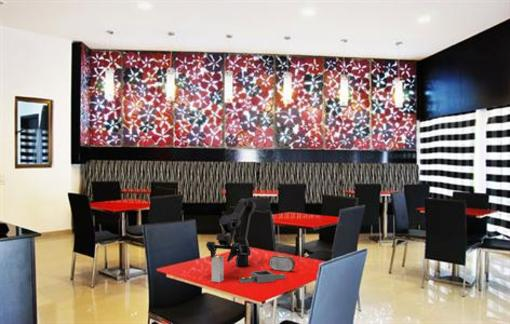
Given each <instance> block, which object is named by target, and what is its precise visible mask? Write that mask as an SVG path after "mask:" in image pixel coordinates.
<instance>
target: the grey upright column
mask: <svg viewBox="0 0 510 324" xmlns="http://www.w3.org/2000/svg"><path fill="white" fill-rule="evenodd" d="M222 281H224V256H223V255H222V256H221V255H217V254H215V256H214V257H212V261H211V282H213V283H221V282H222Z"/></svg>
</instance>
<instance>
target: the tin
mask: <svg viewBox="0 0 510 324" xmlns="http://www.w3.org/2000/svg"><path fill="white" fill-rule="evenodd" d="M268 265H269V267H270V268H271V270H273V271H276V272H277V271H279V272H286V273H289V272H292V271H293V270H294V269H295V268H296V261H295V259H294V258H293V257H291V256H290V255H281V254H274V255H272V256H271V257H270V258H269V260H268Z"/></svg>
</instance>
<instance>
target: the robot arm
mask: <svg viewBox="0 0 510 324" xmlns="http://www.w3.org/2000/svg"><path fill="white" fill-rule="evenodd" d="M256 208H257V204H256V202H255V201H254V200H248V199H239V200H238V204H237V205H236V207H235V209H234V211H233V212H232V213H230V214H229V215H228V214H224V216H222V217H220V218H219V220H218V222H219V225H220V227H221V230H222V231H223V233H219V232H218V233H217V234H216V237H215V238H216V240H217V243H218V244H216V242H215V241H207V242H206V244H205V245H206V248H207V250H208V251H209V252H210V262H212V257H214V256H216V255H217V251H218V250H230V251H229V254H228V257H227V258H226V259H227V260H226V262H227V263H229V262H231V260H232V259H234V258H235V264H234V265H235V266H236V267H238V268H242V267H250V264H249V256H251V254H252V251H251V250H252V249H250V246H249V245H250V244H249V241H248V235H249V228H250V223H251V217H252V215H253V214H254V213H255V209H256ZM239 227H240V229H239V233H238V235H239V236H238V238H236V239H235V240H233V239H234V237H235V235H237V232H236V229H235V228H239ZM217 249H218V250H217Z"/></svg>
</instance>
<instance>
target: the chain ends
mask: <svg viewBox="0 0 510 324" xmlns="http://www.w3.org/2000/svg"><path fill="white" fill-rule="evenodd" d="M286 277H287V276H286V275H285V274H284V273H278V274H275V273H273V272H271V271H270V270H267V269H266V270H264V269H263V270H258V271H257V270H254V271H251V272H250V276H248V277H244V276H242V277H239V278H238V279H239V282H240V283H241V284H244V283H245V284H246V283H247V284H249V283H256V282H257V283H256V284H262V283H271V282H272V283H273V282H275V281H276V280H278V281H279V280H286Z"/></svg>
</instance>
